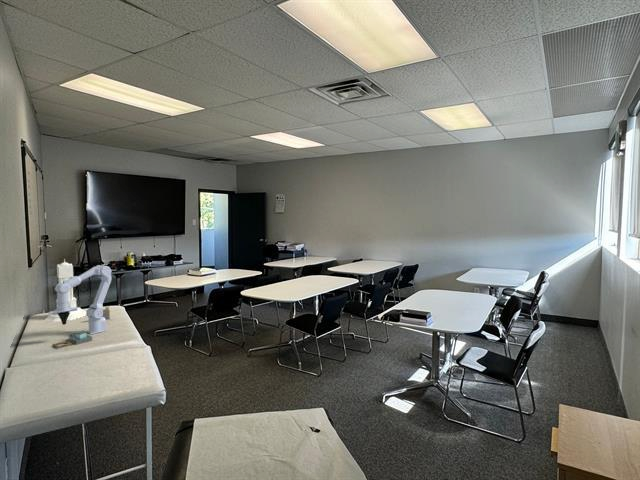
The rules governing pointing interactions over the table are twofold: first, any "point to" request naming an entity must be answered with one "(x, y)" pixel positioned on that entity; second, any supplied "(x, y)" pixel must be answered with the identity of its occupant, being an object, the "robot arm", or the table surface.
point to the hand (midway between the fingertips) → (64, 324)
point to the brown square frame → (62, 345)
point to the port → (78, 341)
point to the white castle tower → (64, 274)
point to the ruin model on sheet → (106, 313)
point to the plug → (81, 334)
